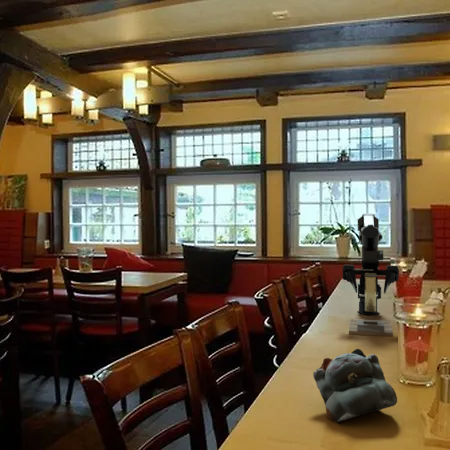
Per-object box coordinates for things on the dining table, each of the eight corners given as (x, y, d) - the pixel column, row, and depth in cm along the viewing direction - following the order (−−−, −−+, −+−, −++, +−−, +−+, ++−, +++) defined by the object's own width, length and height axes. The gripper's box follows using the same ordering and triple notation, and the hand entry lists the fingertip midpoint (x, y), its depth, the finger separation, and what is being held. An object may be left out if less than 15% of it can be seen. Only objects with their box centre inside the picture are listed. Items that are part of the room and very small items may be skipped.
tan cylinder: (364, 309, 183) (364, 272, 182) (376, 309, 182) (376, 272, 181) (364, 311, 179) (364, 273, 179) (376, 311, 178) (376, 274, 178)
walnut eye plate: (350, 322, 197) (350, 313, 197) (389, 323, 193) (389, 315, 193) (349, 334, 177) (349, 325, 177) (393, 336, 174) (393, 327, 174)
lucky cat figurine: (322, 426, 101) (303, 353, 107) (329, 428, 112) (312, 362, 118) (401, 408, 98) (377, 334, 104) (401, 412, 109) (379, 345, 115)
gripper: (342, 241, 187) (341, 277, 177) (398, 242, 182) (400, 278, 172) (343, 262, 195) (342, 296, 185) (397, 263, 190) (399, 298, 180)
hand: (370, 292), depth 180 cm, fingers open, 9 cm apart
